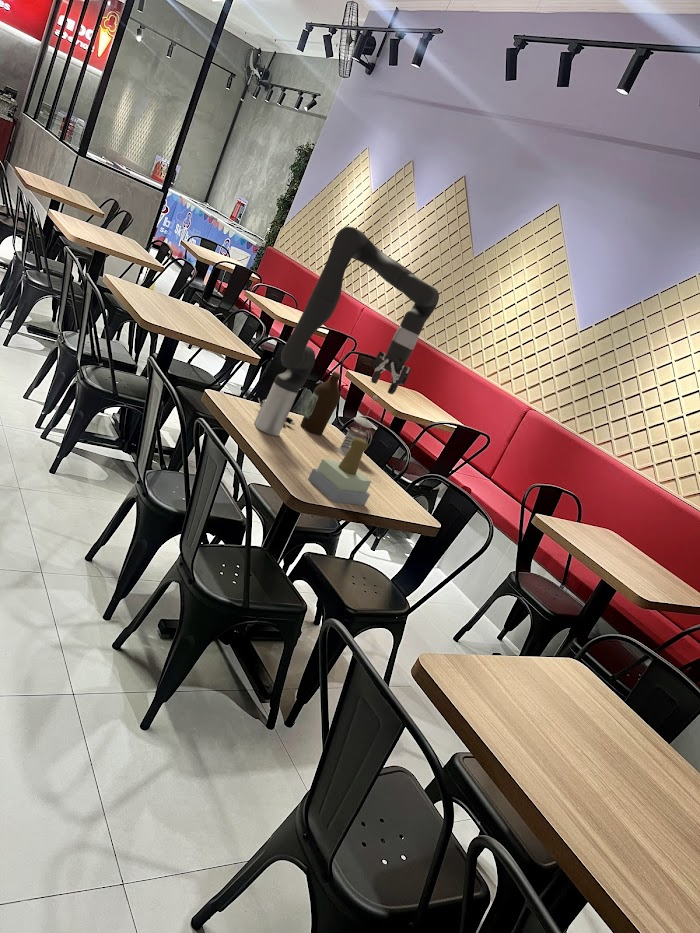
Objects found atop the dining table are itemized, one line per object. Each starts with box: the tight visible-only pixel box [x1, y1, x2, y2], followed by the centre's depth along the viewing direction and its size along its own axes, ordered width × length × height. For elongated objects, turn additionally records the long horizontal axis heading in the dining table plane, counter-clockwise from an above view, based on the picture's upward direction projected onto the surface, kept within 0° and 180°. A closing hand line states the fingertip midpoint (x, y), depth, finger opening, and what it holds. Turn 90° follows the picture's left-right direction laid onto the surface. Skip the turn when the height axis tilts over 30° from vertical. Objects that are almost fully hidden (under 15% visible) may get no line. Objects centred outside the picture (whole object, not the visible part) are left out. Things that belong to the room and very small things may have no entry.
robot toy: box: [257, 397, 296, 426], centre depth 269 cm, size 12×4×15 cm
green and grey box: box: [307, 458, 372, 506], centre depth 219 cm, size 14×14×8 cm
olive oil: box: [300, 371, 341, 436], centre depth 274 cm, size 11×11×25 cm
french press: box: [337, 395, 378, 456], centre depth 266 cm, size 10×12×25 cm
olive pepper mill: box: [338, 437, 369, 475], centre depth 217 cm, size 6×6×11 cm
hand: (381, 388), depth 231 cm, fingers open, 8 cm apart
